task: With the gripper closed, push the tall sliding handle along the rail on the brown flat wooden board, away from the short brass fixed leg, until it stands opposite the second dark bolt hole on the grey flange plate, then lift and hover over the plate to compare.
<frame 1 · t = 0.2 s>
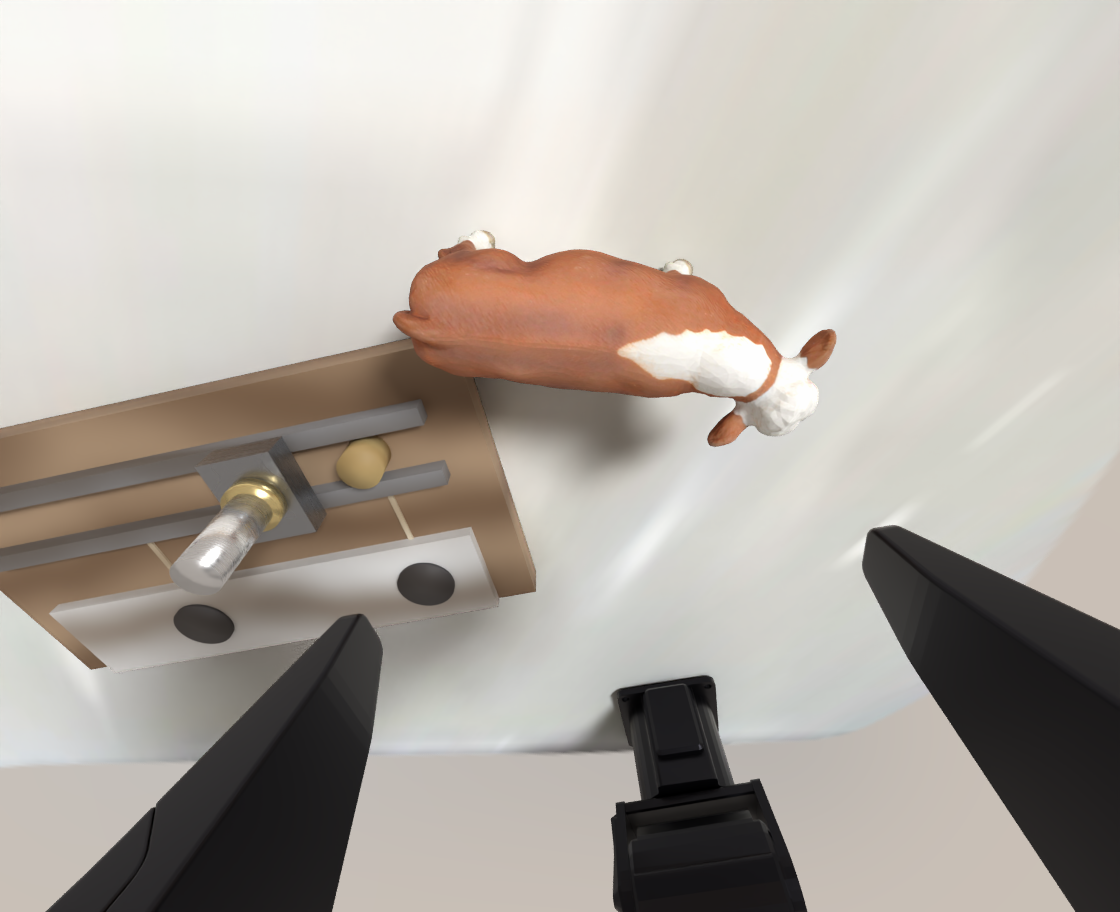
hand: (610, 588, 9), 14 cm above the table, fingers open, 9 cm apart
sliding handle: (238, 525, 19), point 5 cm above the table, slide at 4.0 cm
brown flat wooden board: (251, 517, 25), on the table
bull figurine: (601, 294, 20), on the table
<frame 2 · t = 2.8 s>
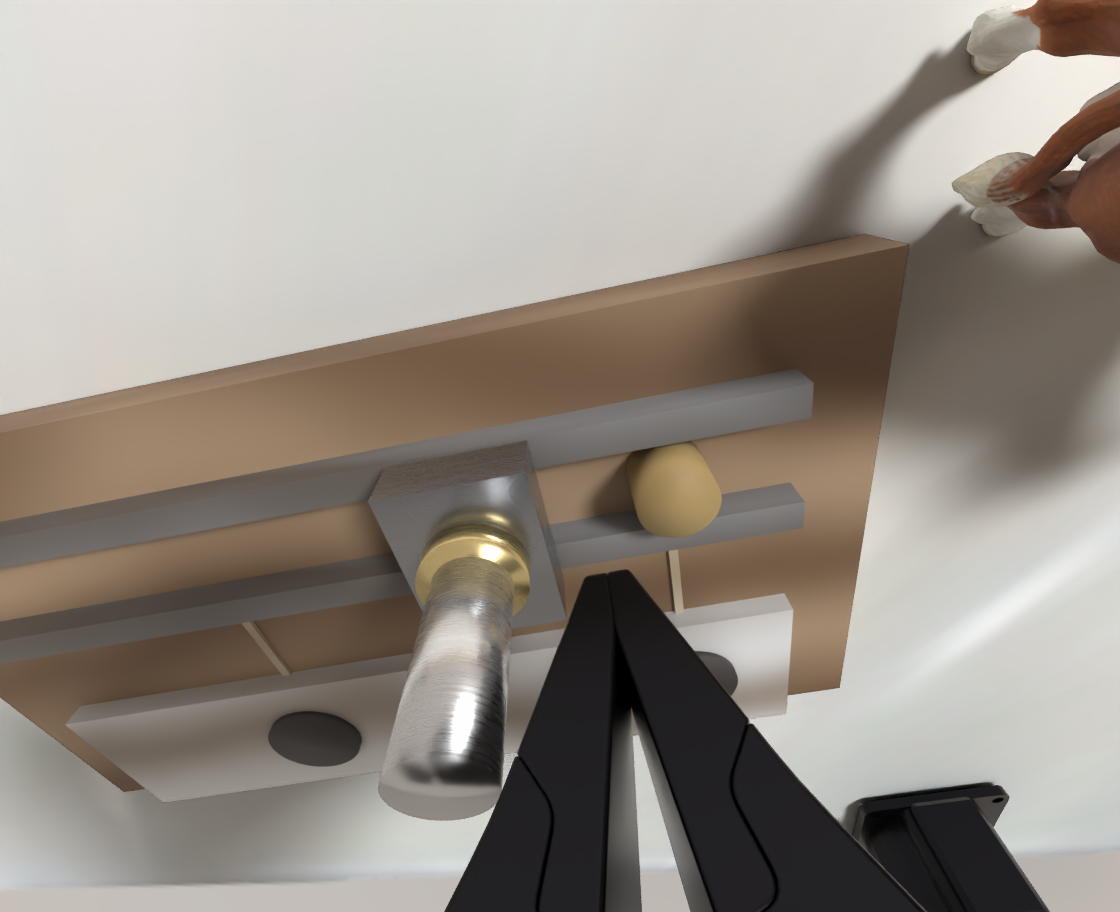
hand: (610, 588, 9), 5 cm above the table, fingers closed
sliding handle: (466, 625, 9), point 5 cm above the table, slide at 4.3 cm, touching gripper
brown flat wooden board: (401, 569, 15), on the table
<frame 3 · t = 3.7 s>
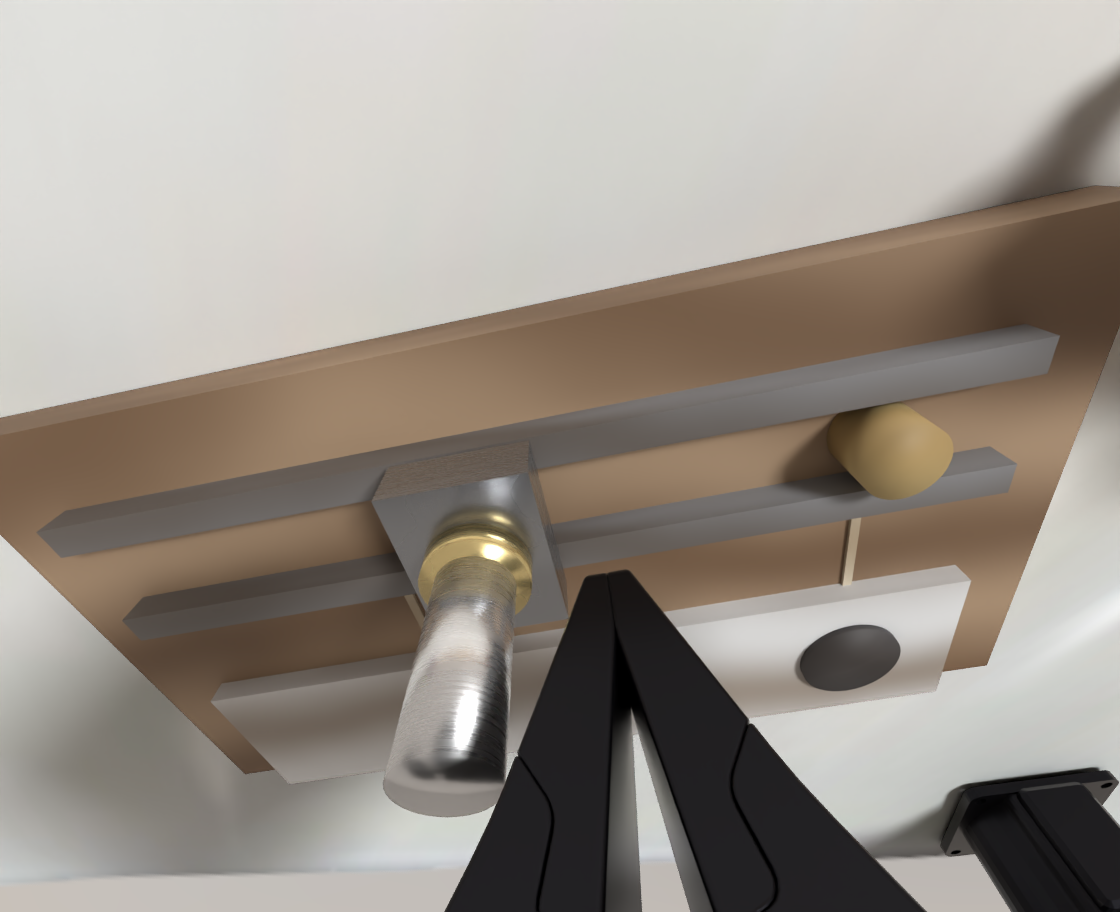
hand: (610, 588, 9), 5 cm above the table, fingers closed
sliding handle: (469, 624, 9), point 5 cm above the table, slide at 9.0 cm, touching gripper
brown flat wooden board: (553, 542, 15), on the table
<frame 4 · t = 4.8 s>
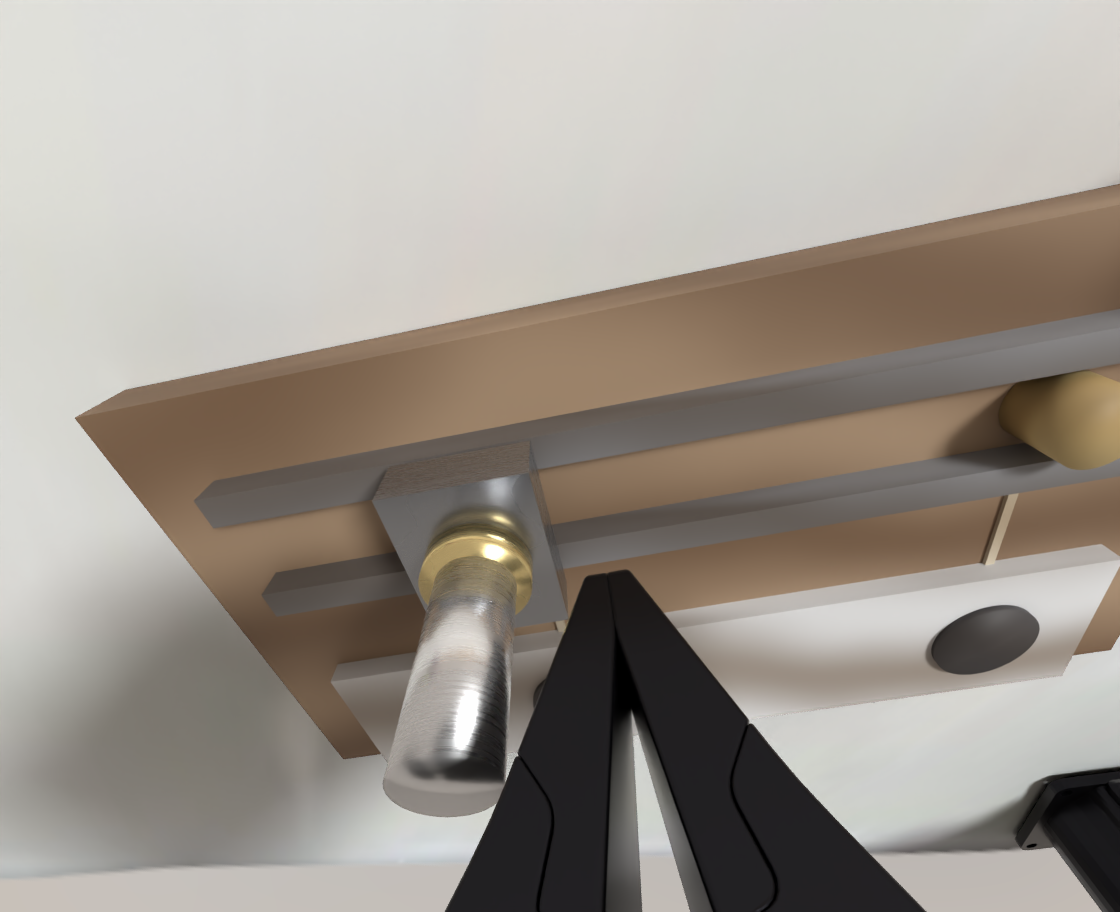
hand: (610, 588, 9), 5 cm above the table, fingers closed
sliding handle: (469, 624, 9), point 5 cm above the table, slide at 12.9 cm, touching gripper
brown flat wooden board: (681, 521, 15), on the table
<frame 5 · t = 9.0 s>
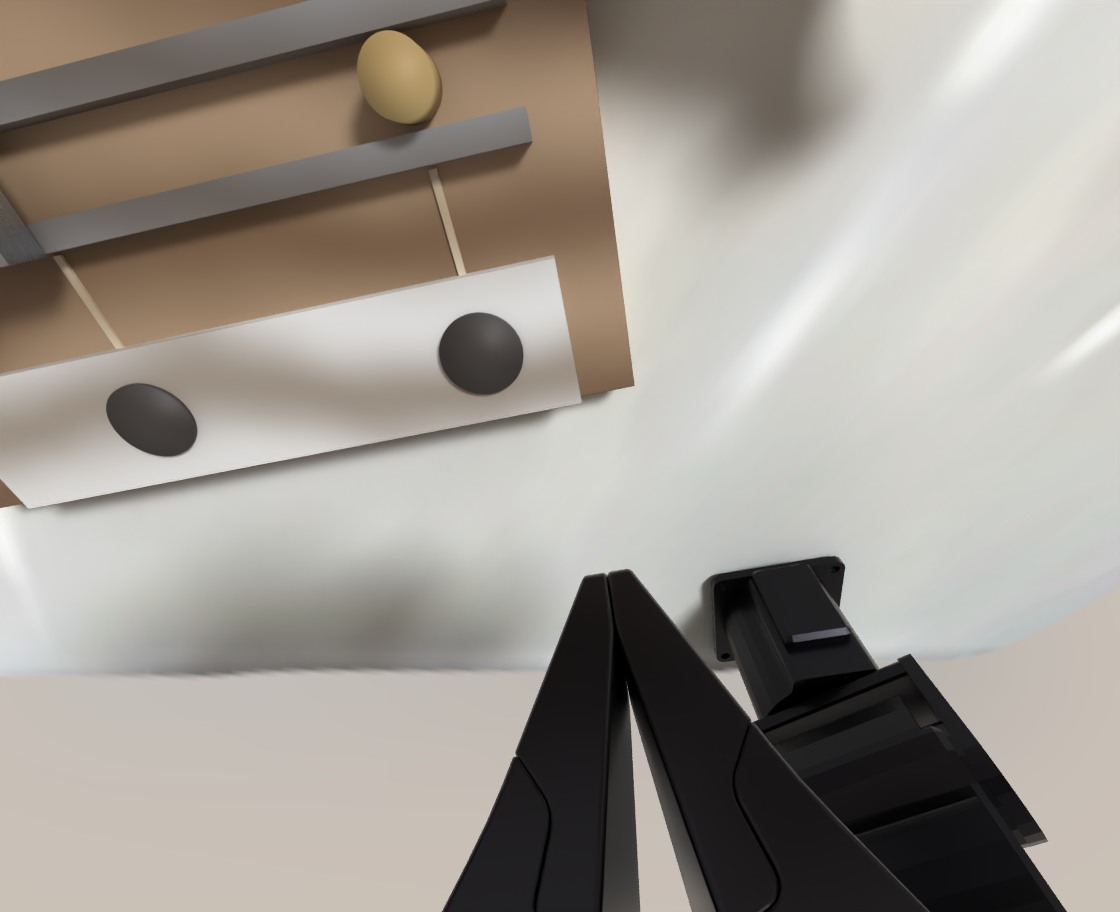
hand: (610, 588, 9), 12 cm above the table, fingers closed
brown flat wooden board: (223, 253, 17), on the table
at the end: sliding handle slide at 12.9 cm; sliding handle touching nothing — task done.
